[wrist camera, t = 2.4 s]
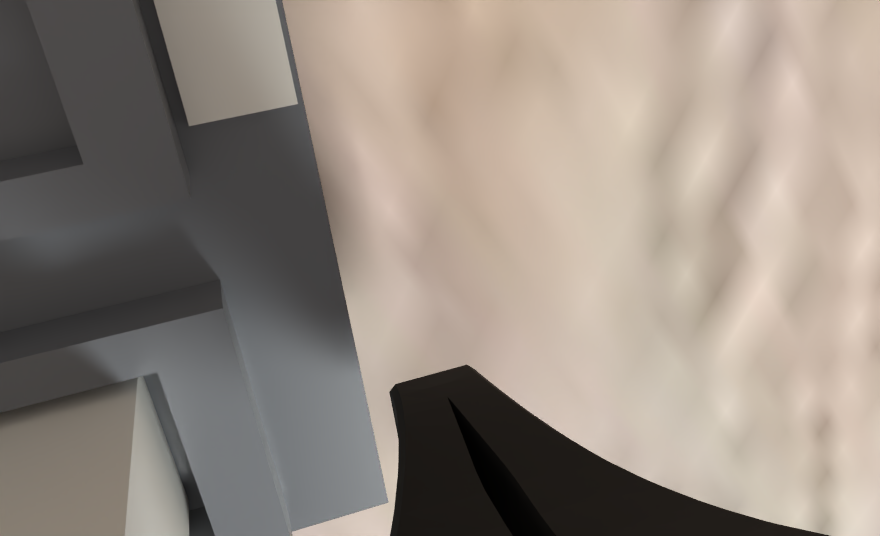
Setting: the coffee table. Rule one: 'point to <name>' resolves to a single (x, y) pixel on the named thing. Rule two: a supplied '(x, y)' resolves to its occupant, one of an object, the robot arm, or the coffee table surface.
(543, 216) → the coffee table surface
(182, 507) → the tab
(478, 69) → the coffee table surface
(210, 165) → the switch bank
